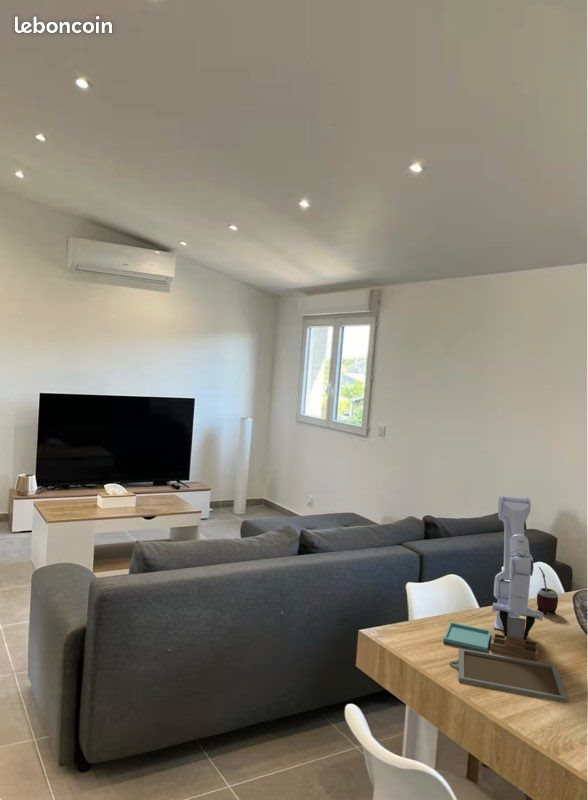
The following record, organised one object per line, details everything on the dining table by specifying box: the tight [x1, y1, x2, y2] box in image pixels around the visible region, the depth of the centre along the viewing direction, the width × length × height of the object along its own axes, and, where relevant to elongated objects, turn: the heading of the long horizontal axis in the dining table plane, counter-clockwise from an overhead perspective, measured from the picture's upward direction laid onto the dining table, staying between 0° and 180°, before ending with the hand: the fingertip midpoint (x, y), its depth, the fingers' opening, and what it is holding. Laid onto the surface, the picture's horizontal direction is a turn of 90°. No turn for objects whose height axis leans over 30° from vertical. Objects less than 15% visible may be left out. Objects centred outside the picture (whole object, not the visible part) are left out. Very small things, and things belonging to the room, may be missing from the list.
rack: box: [489, 632, 540, 662], centre depth 183 cm, size 8×14×2 cm, turn 67°
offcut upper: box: [504, 636, 527, 650], centre depth 182 cm, size 3×6×2 cm, turn 69°
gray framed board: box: [448, 647, 569, 704], centre depth 167 cm, size 19×2×30 cm
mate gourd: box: [536, 566, 559, 616], centre depth 216 cm, size 8×8×15 cm
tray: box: [442, 621, 492, 653], centre depth 188 cm, size 14×13×2 cm
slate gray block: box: [507, 616, 526, 640], centre depth 185 cm, size 2×5×9 cm, turn 68°
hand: (515, 637), depth 185 cm, fingers closed on slate gray block, 5 cm apart
